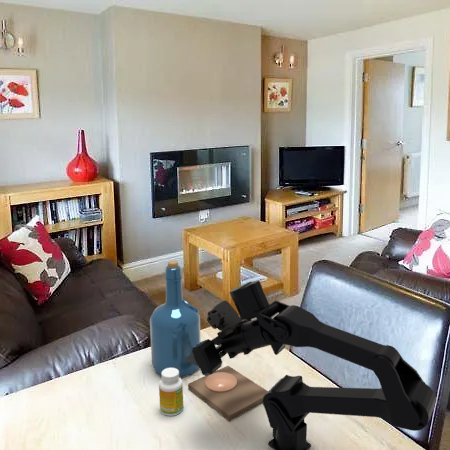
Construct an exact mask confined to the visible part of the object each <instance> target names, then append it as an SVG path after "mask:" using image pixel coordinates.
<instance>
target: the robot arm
mask: <svg viewBox="0 0 450 450" xmlns="http://www.w3.org/2000/svg"><path fill="white" fill-rule="evenodd" d="M229 294H230V296H231V297H230V298H231V299H232V301H233V304H234V305H235V307H236V309H235V308H234V307H233V305H231V303H230V302H229V301H227V300H223V301H220V302H219V303H218V304H216V305H215V306H214V307H213V308H212V309H211V310H209V311H208V312H207V317H206V322H208V324H209V325H210V327H211V328H212V329H214V330H217V329H218V330H219V331H218V332H217V333H216V335H217V336H216V337H214V338H212V339H209V338H208V339H204V340H202V341H201V342H200V343H199V344H197V345H196V346H194V347H193V349H192V352H193V354H191V355H190V356H188V357H187V360H188V362H189V363H192V364H194V365H196V366H198V367H199V368H198V369H199V370H200V372H201V375H203V376H207V375H211V374H213V373H214V372H215V371H217V370H219V369H221V368H222V365H223V360H222V358H223V357H224V356H226V355H228V357H229V359H230V360H231V359H234V358H236V357H237V356H238V355H240V354H243V355H244V356H247V355H249V354H251V352H253V351H254V350H258V349H261V348H265V347H268V346H270V347H271V349H272V351H273V353H274V355H275V356H278V355H279V354H280V353H281V352H282V351H283V350H284V349H285V348H286V346H290V347H295V348H311V349H312V348H313V349H317V350H319V351H322V352H325V353H326V354H329V355H332V356H334V357H337V358H338V359H339V358H340V359H342V360H345V361H347V362H350V363H352V364H355V365H357V366H360V367H362V368H364V369H368V370H370V371H372V372H373V374H375V375H374V376H376V378H377V380H378V382H379V384H380V388H368V387H367V388H365V387H362V388H361V387H331V386H330V387H328V386H327V387H325V386H324V387H323V386H309V385H308V384H306V383H305V382H304V380H303V376H302V375H296V376H292V375H289V374H286V375H284V376H283V377H281V378H280V379H279V380H278V381H277V382H276V383H275V384H274V385H273V386H271V388H270V389H269V390H267V391H268V392H267V393H266V394H265V396H264V397H263V403H262V405H263V407H264V410H265V413H266V416H267V419H268V423H269V426H270V428H272V439H270V440H269V441H268V442H267V444H268V446H269V447H271V448H272V449H273V450H310V449H311V448H312V443H310V442H308V441H307V435H308V434H307V432H308V431H307V429H308V424H307V423H306V422H305V418H306V417H307V416H308V415H309V414H322V415H323V414H325V415H341V416H353V417H354V416H355V417H368V418H369V417H370V418H371V417H372V418H379V419H382V420H383V421H385V422H386V423H388V424H389V425H391V426H392V427H395V428H400V429H404V430H408V431H413V432H418V431H422V430H424V429H425V427H427V426H428V424H429V422H430V419H431V417H432V414H433V411H434V409H435V406H436V403H437V397H436V394H435V392H434V390H433V389H432V388H431V386H429V385H428V384H427V383H426V382H425V381H424V380H423V378H422V377H421V376H420V374H419V373H418V370H416V369H415V368H414V367H413V366H412V365H411V364H410V363H408V362H407V361H406V360H405V359H404V358H403V356H402V355H401V354H400V352H399V350H397V349H396V348H395V347H394V346H392V345H390V344H389V345H388V344H386V345H385V344H381V343H378V342H375V341H373V340H370V339H368V338H364V337H363V336H362V337H361V336H359V335H357V334H354V333H351V332H348V331H345V330H343V329H340V328H337V327H334V326H332V325H328V324H326V323H324V322H322V321H321V320H319V319H318V318H317V317H316V316H315V315H314V313H312V312H310V311H308V310H306V309H305V308H303V307H300V306H298V305H295V304H292V305H289V304H287V303H284V302H282V301H281V302H280V301H279V300H274V301H272V302H271V303H269V300H268V299H267V297H266V294H265V292H264V290H263V286H262V283H261V282H260V280H255V281H249V282H246V283H244V284H241V285H240V286H237V287H236V288H233V289H231V290H230V291H229ZM236 310H237V311H236ZM255 318H256V319H255Z"/></svg>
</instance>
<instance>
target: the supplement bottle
mask: <svg viewBox="0 0 450 450" xmlns="http://www.w3.org/2000/svg"><path fill="white" fill-rule="evenodd" d="M183 385H184V384H183V380H182V377H181V378H179V371H178V369H176V368H166V369H164V370H163V371H162V375H161V379H160V381H159V382H158V389H159V390H158V392H159V393H158V394H159V410H160V412H161V414H163V415H164V416H167V417H169V416H170V417H173V416H177V415H179V414H180V413H182V411H183V410H184V392H183V391H184V389H183V387H184V386H183Z"/></svg>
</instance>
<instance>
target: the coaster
mask: <svg viewBox="0 0 450 450" xmlns="http://www.w3.org/2000/svg"><path fill="white" fill-rule="evenodd" d="M236 385H237V379H236V377H235V376H233V375H232V374H229V373H225V372H217V373H213V374H211V375H209V376H208V377H207V378H206V379H205V386H206V387H207V388H208V389H209V390H211V391H214V392H228V391H230V390H232V389H234V388H235V387H236Z"/></svg>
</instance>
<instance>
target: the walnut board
mask: <svg viewBox="0 0 450 450" xmlns="http://www.w3.org/2000/svg"><path fill="white" fill-rule="evenodd" d="M217 372H225V373H229V374H232V375H233V376H235V377H236V379H237V385H236V387H235V388H234V389H232V390H230V391H228V392H214V391H211V390H209V389H208V388H207V387H206V386H205V379H206V378H207V377H208V376H209V375H207V376H205V375H203V376H202V377H200V378H198V379H195V380H193V381H191V382H189V383H187V389H188V390H189V392H191V393H193V395H195V396H197V398H199V399H200V400H202V401H203V402H204V403H205V404H207V405H208V406H209V407H210V408H211V409H213V410H214V411H216V412H217V414H219V415H221V416H222V417H223V418H225V420H227V421H229V422H231V421H232V420H234V419H236V418H238V417H240V416H241V415H244V414H245V413H247V412H249V411H251V410H252V409H254V408H256V407H258V406H259V405H262V404H263V397H264V396H265V394H266V393H267V392H268V391H269V390H266V388H264V387H262V386H261V385H259V384H258V383H256V382H254V381H253V380H251V379H250V378H248V377H247V376H246V375H243V374H242V373H241V372H239V371H237V370H236V369H234V368H232V367H231V366H230V365H226V366H224V367H220V368H219V369H218V370H216V371H215V372H214V373H217Z"/></svg>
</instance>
